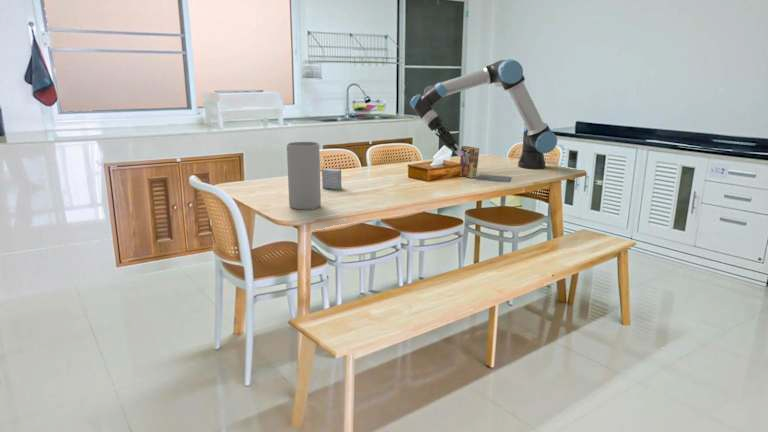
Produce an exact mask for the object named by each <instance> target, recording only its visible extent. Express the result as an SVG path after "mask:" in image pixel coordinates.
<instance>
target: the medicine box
mask: <svg viewBox="0 0 768 432" xmlns="http://www.w3.org/2000/svg"><path fill="white" fill-rule="evenodd" d="M321 178H322V179H321V180H322V181H321V182H322V189H326V188H330V189H329V190H339V189H341V188H342V170H341V169H338V168H337V169H336V168H324V169H322V170H321Z"/></svg>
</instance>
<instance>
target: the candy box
mask: <svg viewBox="0 0 768 432" xmlns="http://www.w3.org/2000/svg"><path fill="white" fill-rule="evenodd" d="M460 149H461V150H462V152H463V153H464V154H463V155H462V156H461V157H460V161H459V165H460V164H461V165H462V170H461V175H459V176H461V177H464V178H470V179H473V178H475V179H477V175H478V165H479V155H480V154H479V153H480V148H479V147H475V146H466V145H463V146H461V148H460Z"/></svg>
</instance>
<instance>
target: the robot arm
mask: <svg viewBox="0 0 768 432" xmlns="http://www.w3.org/2000/svg"><path fill="white" fill-rule="evenodd" d="M525 81H526V78H525V76H524V69H523V66H522V64H521V63H520V62H519V61H517V60H514V59H510V58H509V59H501V60H498V61H496V62H494V63H492V64H489V65H486V66H483V68H482V69H479V70H476V71H473V72H471V73H467V74H464V75H461V76H458V77H455V78H452V79H448V80H445V81H441V82H437V83H435V84H432V85H428V86H426V87H425V88H424V89H423V90H424V91H423V95H422V94H420V93H417V94H416V95H415V96H413V97H412V98H411V100H410V102H409V106H411V108H412V109H413V110H414V112H415V113H416V114H417V115H418V116H419V117H420V119H421V120H422V122H423V123H424V124H425V125H427V127H428V128H429V129H430V131H432V132H433V131H435V133H434V135H435V136H437V137H438V138H439V139H440V140H441V141H442V142H443V143H444V144H445V146H447V147H448V149H452V150H453V151H454V152H455V154H456V155H457V156H458V158H461V156H462V155H463V154H464V153H463V152H462V150H461V148H460V147H459V145H457V144H458V142H457V141H456V139H455V138H454V136H453V135H452V133H451V132H450V130H449V129H448V128H447V127H445V126H443V125H442V124H443V119H442V118H441V117H440V116H438V113H437V112H436V111H435V110H434V109H433V108H432V107H434V106H435V105H436V104H437V103H438V102H440V101H441V100H442V99H443V98H445V97H446V96H451V95H453V94H456V93H459V92H462V91H466V90H470V89H472V88H475V87H478V86H482V85H485V84H487V85H491V84H496V83H500V85H501V86H502V89H503V90H504V91H505V92H506V91H507V92H508V93H509V95H510V98H511V99H512V102H513V103H514V105H515V107H516V108H517V109H516V110H517V111H518V113H519V115H520V116H521V119H522V120H523V122H524V125H525V127H524V129H523V138H522V140H523V141H522V150H521V155H520V158H519V160H518V163H517V166H518V167H519V168H524V169H532V170H533V169H534V170H538V169H544V168H546V159H545V156H544V154H548V153H551V152H552V151H554V149H555V148H556V147H557V145H558V137H557V136H556V134H555V133H554V132H553V131H551V129H550V127H549V125H548V123H546V122H544V121H543V119H542V117H541V115H540V113H539V111H538V109H537V107H536V105H535V103H534V101H533V99H532V97H531V95H530V93H529V91H528V88H527V87H526V85H525Z"/></svg>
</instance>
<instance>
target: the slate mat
mask: <svg viewBox="0 0 768 432" xmlns="http://www.w3.org/2000/svg"><path fill="white" fill-rule="evenodd" d="M511 179H512V176H506V175H495V174H494V175H493V174H492V175H491V174H490V175H489V174H479V175H478V177H476V180H477V181H478V180H479V181H489V182H490V181H491V182H492V181H493V182H503V183H504V182H505V183H509V182H510V181H511Z"/></svg>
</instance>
